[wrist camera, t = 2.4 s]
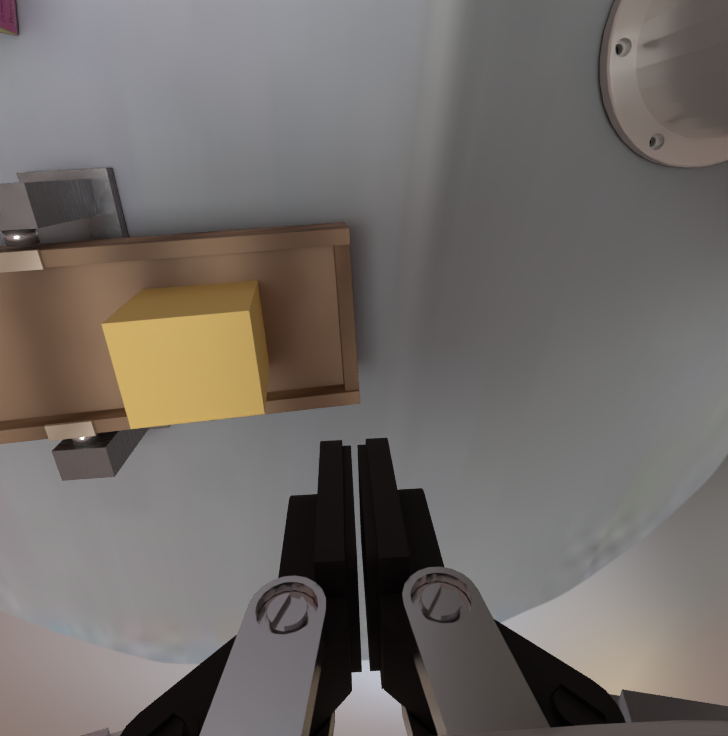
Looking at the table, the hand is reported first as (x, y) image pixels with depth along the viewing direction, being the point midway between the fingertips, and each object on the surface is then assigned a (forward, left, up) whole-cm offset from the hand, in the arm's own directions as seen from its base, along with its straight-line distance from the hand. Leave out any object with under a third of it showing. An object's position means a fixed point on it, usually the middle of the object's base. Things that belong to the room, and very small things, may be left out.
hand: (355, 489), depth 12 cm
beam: (+16, +1, -17) cm, 23 cm away
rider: (+8, 0, -16) cm, 18 cm away
